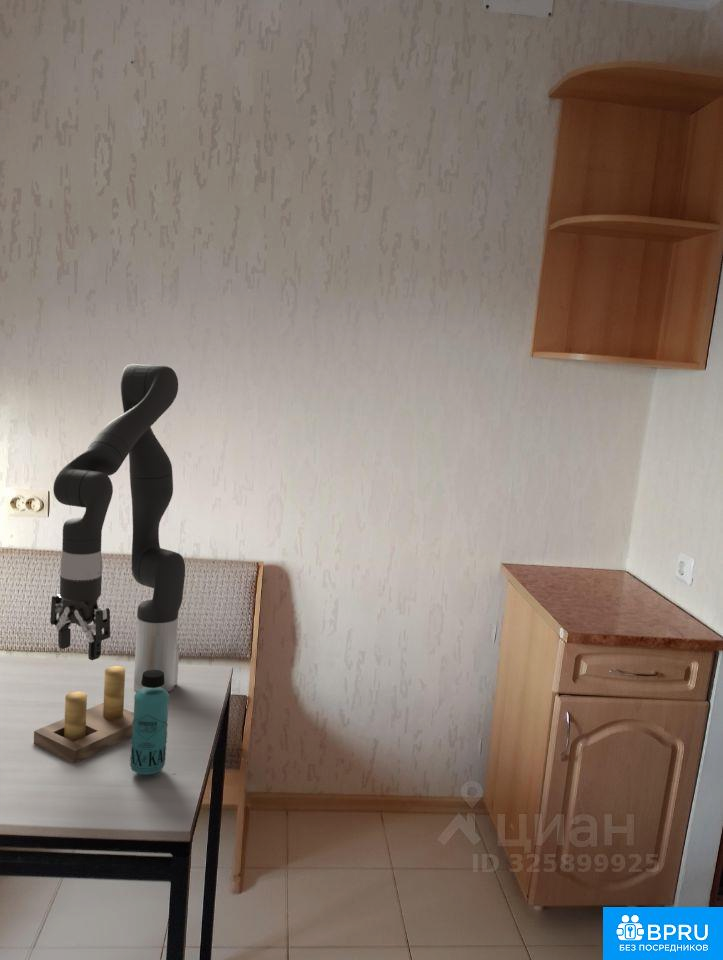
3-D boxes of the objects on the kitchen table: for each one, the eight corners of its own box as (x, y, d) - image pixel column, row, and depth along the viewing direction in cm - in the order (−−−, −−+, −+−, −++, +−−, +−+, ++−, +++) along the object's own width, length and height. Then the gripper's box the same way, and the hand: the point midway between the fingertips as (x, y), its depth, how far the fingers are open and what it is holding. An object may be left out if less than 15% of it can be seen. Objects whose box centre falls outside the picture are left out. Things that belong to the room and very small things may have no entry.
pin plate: (106, 712, 171) (108, 657, 169) (145, 729, 165) (148, 672, 163) (33, 742, 156) (35, 682, 154) (74, 763, 150) (76, 700, 148)
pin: (76, 736, 160) (77, 689, 158) (89, 742, 158) (91, 695, 156) (59, 743, 156) (61, 696, 155) (73, 750, 154) (74, 702, 153)
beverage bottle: (127, 766, 150) (132, 666, 147) (163, 763, 152) (168, 664, 149) (130, 784, 144) (135, 680, 141) (167, 780, 146) (173, 678, 143)
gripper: (122, 576, 151) (119, 657, 154) (72, 561, 158) (70, 638, 161) (90, 584, 145) (88, 668, 147) (40, 568, 152) (38, 649, 154)
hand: (79, 653), depth 154 cm, fingers open, 8 cm apart
